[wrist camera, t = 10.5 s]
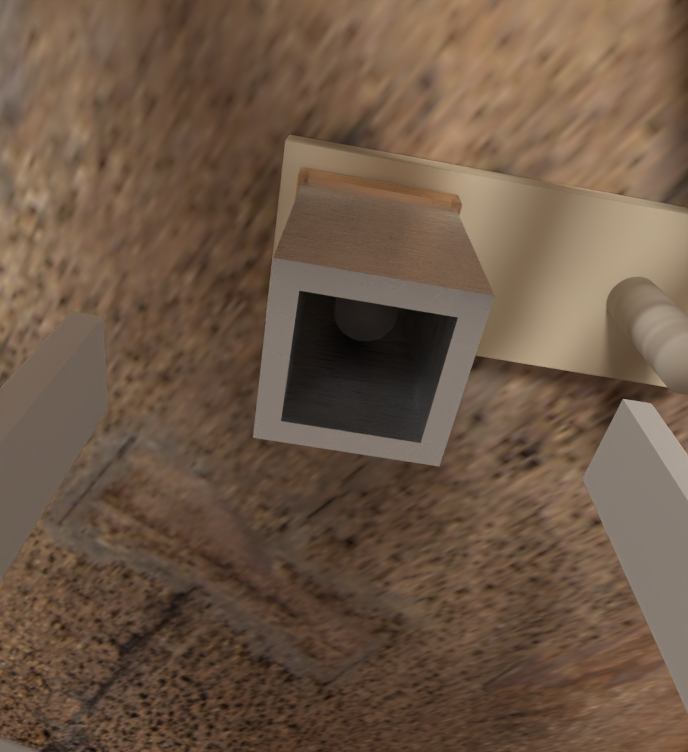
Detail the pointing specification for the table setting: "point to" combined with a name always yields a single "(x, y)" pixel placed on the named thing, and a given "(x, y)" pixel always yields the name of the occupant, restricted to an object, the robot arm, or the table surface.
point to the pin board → (541, 265)
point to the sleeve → (375, 285)
